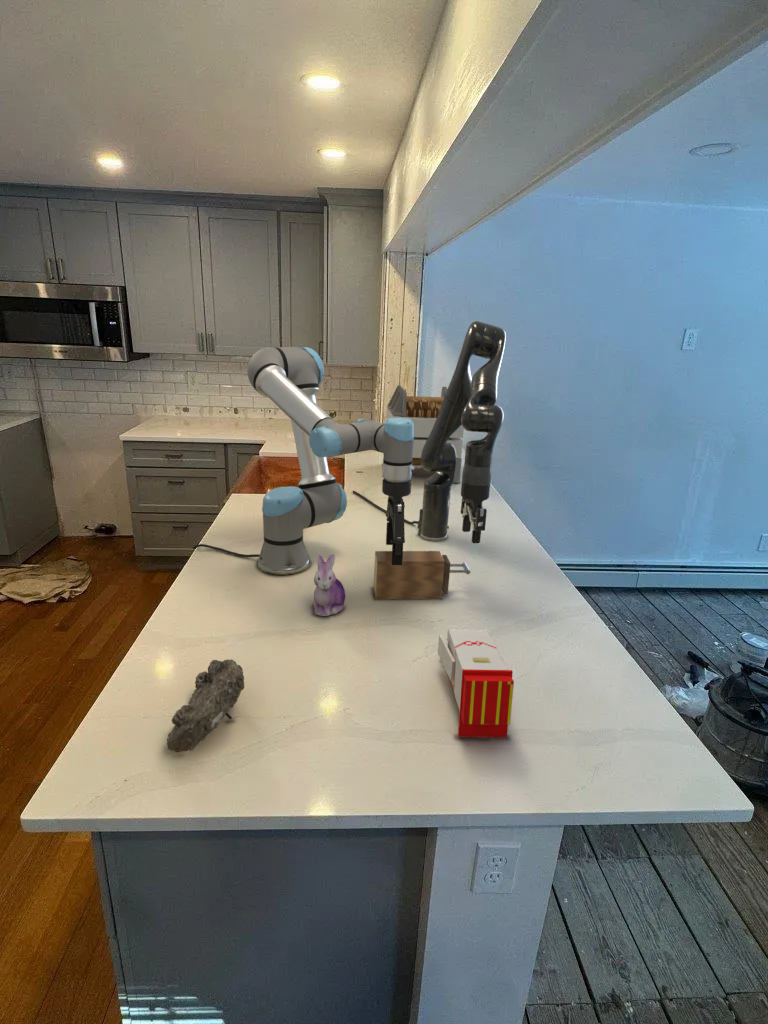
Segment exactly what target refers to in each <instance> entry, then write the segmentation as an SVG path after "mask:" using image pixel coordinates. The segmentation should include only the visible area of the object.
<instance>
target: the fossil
mask: <svg viewBox="0 0 768 1024" xmlns="http://www.w3.org/2000/svg"><path fill="white" fill-rule="evenodd" d="M243 670H244V669H243V667H242V665H240V664H237V662H236V661H235V660H234V659H232V658H231V659H227V658H226V659H224V660H223V661H222V660H217V659H212V660H211V661H210V663H209V665H208V666H207V671H201V672H199V673H198V674H197V675H196V676H195V680H194V684H195V685H194V687H195V689H194V690H193V693H192V694H191V697H190V698H189V700H188V704H184V705H182V706H181V707H180V709H177V710H176V711H175V713H174V715H173V716H172V718H171V723H172V724H173V727H172V730H171V731H170V732H168V734H167V738H166V741H167V742H166V745H167V749H168V750H169V751H173V752H174V753H176V754H178V753H182V752H188V751H189V752H192V751H193V750H195V748H196V747H197V746H199V744H200V743H201V742H203V741H204V740H205V739H206V738H207V737H208V736H209V735H210V734H211V733H212V732H214V730H215V729H217V727H218V726H219V724H220V722H221V721H222V720H223V719H224V718H225V716H226V717H227V719H229V720H233V717H232V715H230V714H229V710H230V709H231V708H234V706H235V704H236V703H237V702H238V699H239V697H240V695H241V693H242V691H243V690H245V689H244V688H245V675H244V671H243Z"/></svg>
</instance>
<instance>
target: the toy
mask: <svg viewBox="0 0 768 1024" xmlns="http://www.w3.org/2000/svg"><path fill="white" fill-rule="evenodd" d="M446 640H447V643H446V641H445V639H444V636H443V635H442V634H439V637H438V646H437V656H438V657H439V659H440V661H441V663H442V666H443V668H444V670H445V672H446V674H447V677H448V679H449V681H450V684H451V687H452V690H453V693H454V697H455V701H456V705H457V708H458V711H459V714H458V715H459V716H458V730H457V731H458V732H457V737H458V738H508V731H509V726H510V725H511V717H512V707H513V697H514V696H513V695H514V684H515V680H514V679H513V673H514V671H513V670H512V669H508V667H507V665H506V662H505V661H504V659H503V658H502V655H501V653H500V651H499V649H498V647H497V643H496V639H495V637H494V635H493V634H491V632H490V631H489V629H467V628H466V629H465V628H463V629H461V628H460V629H459V628H448V630H447V639H446Z"/></svg>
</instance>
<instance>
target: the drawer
mask: <svg viewBox="0 0 768 1024" xmlns="http://www.w3.org/2000/svg"><path fill="white" fill-rule="evenodd" d="M441 555H442V557H443V559H444V572H443V583H442V594H443V596H444V595H448V594H449V586H450V585H449V584H450V576H451V575H450V574H457V573H458V574H461V573H462V574H465V575H470V574H471V570H470V568H469V566H468V564H467V563H466V562H465V561H464V562H461V563H451V562H450V559H449V557H448V555H447V554H441ZM455 567H457V568H458V567H460V568H461V567H462V569H451V568H455Z"/></svg>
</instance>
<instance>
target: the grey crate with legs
mask: <svg viewBox="0 0 768 1024" xmlns="http://www.w3.org/2000/svg"><path fill="white" fill-rule="evenodd" d="M447 389H448V387H447V386H442V387H441V392H440V393H441V394H440V396H415V395H414V396H413V395H412V396H411V395H407V394H408V393H407V390H406V389H404V388H403V387H402V385H399V384H398V385H397V386H396V388H395V390H394V392H393V394H392V395H391V398H390V400H389V402H388V404H387V405H386V413H385V414H386V415H385V421H386V420H387V419H389V418H406V419H410V420H411V421H412V422H413V423H414V444H413V458H412V466H413V467H415V466H416V467H417V466H418V467H422V465H421V453H422V449H423V447H424V445H425V443H426V441H427V439H428V437H429V435H430V433H431V431H432V429H433V426H434V424H435V421H436V419H437V416H438V414H439V411H440V408H441V405H442V402H443V399H444V397H445V394H446V391H447ZM464 431H465V429H464V428H463V426H462V425H461V426H460V427H459V428H458V429H457V430H456V431H455V432H454V433H453V434H452V435H451V436H450V437H449V439H448V440H447V442H446V443H450V444H452V445H453V446H454V448H455V450H456V468H455V475H454V481H453V484H455V483H456V484H459V483H461V475H462V474H461V472H462V461H463V460H462V453H463V442H464V441H463V440H462V439H463V438H464Z"/></svg>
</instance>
